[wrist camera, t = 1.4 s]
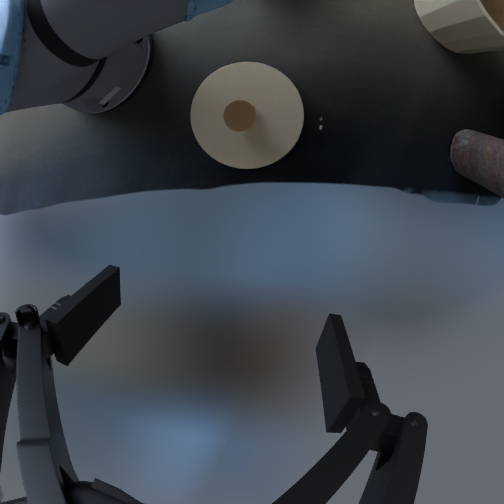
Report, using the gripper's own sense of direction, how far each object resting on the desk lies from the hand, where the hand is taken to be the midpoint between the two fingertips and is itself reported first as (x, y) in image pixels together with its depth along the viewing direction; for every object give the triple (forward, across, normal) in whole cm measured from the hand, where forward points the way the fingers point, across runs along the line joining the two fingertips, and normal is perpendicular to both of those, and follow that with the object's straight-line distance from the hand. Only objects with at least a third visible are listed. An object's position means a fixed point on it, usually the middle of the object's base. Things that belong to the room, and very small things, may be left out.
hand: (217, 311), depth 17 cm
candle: (+24, +29, +18) cm, 41 cm away
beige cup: (+20, +22, +39) cm, 49 cm away
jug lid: (+21, -3, +13) cm, 25 cm away
